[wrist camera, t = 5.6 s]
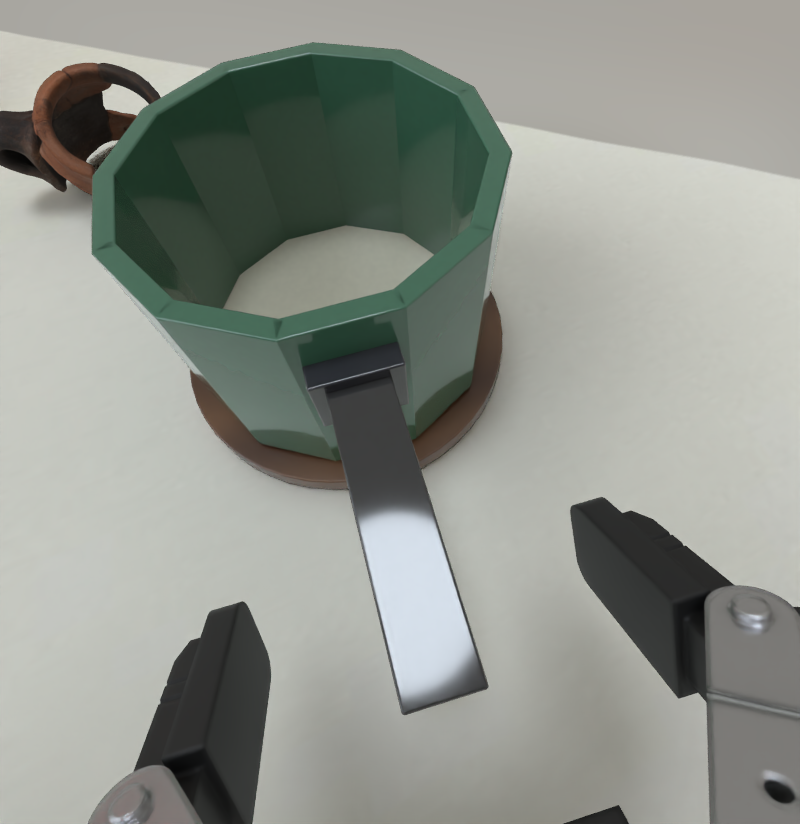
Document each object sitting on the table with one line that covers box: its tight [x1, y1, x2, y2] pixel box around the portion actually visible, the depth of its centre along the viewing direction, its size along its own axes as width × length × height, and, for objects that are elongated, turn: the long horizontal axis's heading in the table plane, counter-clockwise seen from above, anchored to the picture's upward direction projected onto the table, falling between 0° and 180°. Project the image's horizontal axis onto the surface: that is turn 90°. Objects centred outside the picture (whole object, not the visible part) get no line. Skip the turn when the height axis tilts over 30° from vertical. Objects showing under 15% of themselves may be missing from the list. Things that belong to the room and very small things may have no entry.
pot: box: [92, 42, 512, 715], centre depth 20 cm, size 25×15×10 cm, turn 15°
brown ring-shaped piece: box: [0, 63, 161, 195], centre depth 32 cm, size 12×10×8 cm
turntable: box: [190, 291, 502, 490], centre depth 27 cm, size 17×17×1 cm
